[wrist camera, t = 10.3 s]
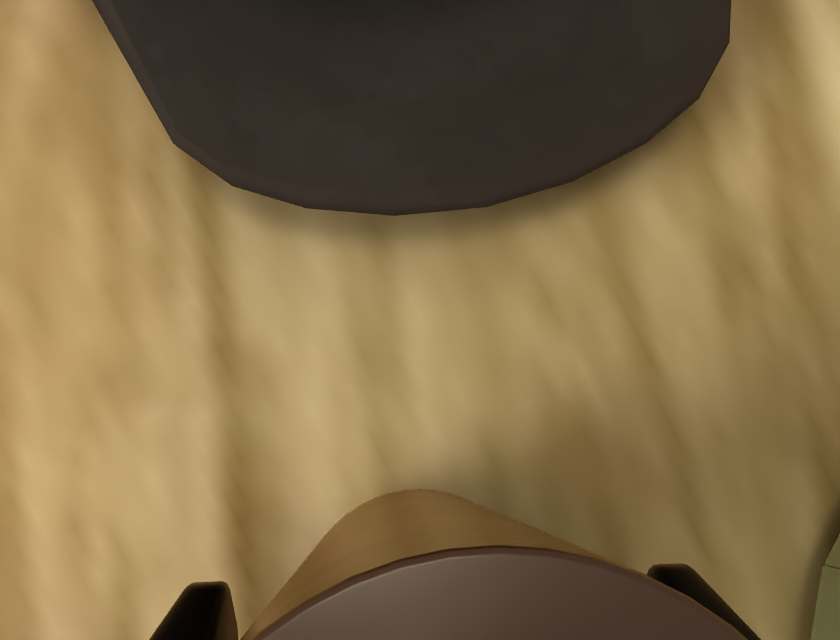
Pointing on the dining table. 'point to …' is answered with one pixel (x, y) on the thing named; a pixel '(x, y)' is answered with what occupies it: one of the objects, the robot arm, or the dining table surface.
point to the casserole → (415, 91)
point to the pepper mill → (469, 583)
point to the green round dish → (828, 599)
